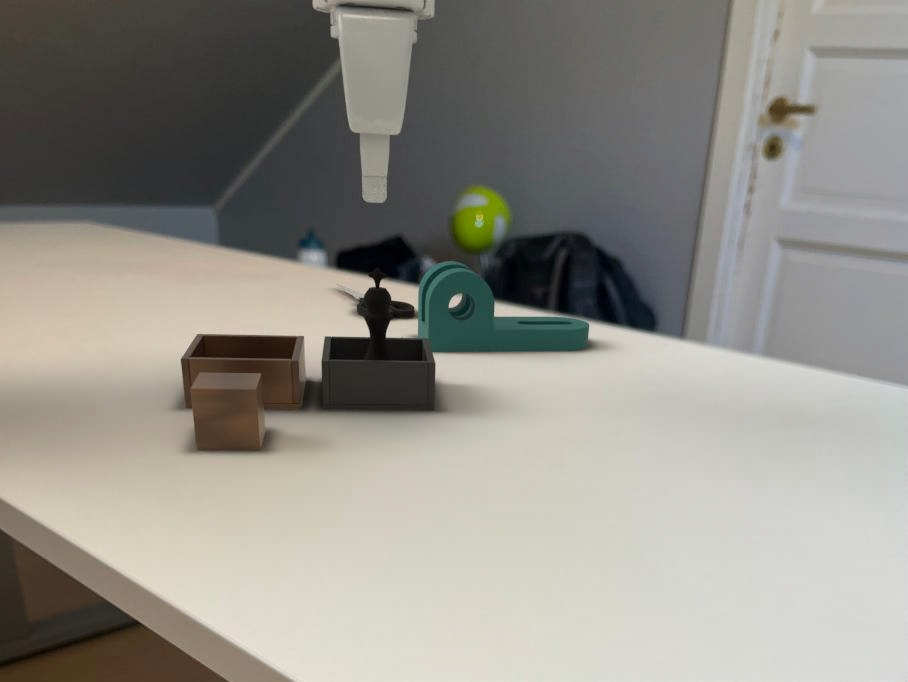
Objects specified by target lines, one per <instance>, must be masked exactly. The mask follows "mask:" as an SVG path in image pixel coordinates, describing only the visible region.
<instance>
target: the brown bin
mask: <svg viewBox="0 0 908 682" xmlns="http://www.w3.org/2000/svg"><path fill="white" fill-rule="evenodd" d="M305 348H306V347H305V336H304V335H281V334H279V335H278V334H277V335H276V334H271V335H270V334H231V333H230V334H229V333H228V334H226V333H225V334H224V333H220V334H219V333H197V334H196V335H195V337H194V338H193V340H192V341H191V343H190V344H189V346H188V347H187V349H186V350H185V352H184V354H183V355H182V356H181V358H180V367H181V377H182V386H183V394H184V395H183V396H184V402H185V403H184V404H185V405H184V406H185V409H192V400H191V390H190V389H191V387H192V385H193V383H194V382H195V380H196V378H197V376H198V374H199V373H200V372H201V373H261V374H262V387H263V402H264V410H301V409H302V405H303V401H304V393H305V388H306V383H307V376H306V375H307V374H306V370H307V369H306V349H305Z"/></svg>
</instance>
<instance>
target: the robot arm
mask: <svg viewBox="0 0 908 682" xmlns="http://www.w3.org/2000/svg"><path fill="white" fill-rule="evenodd" d="M312 8H313V10H315V11H318V12H322V13H327V14H329V15H330V16H329V17H330V25H331V26H330V37H331V38H332V39H336V40H338V47H339V57H340V65H341V66H340V67H341V75H342V84H343V85H342V86H343V94H344V99H345V100H344V101H345V109H346V115H347V122H348V126H349V130H350V131H351V132H352V133H354V134H359V153H360V167H361V197H362V199H363V201H365V202H366V203H373V204H382V203H385V202H386V201H387V198H388V171H389V161H390V151H391V150H390V149H391V148H390V145H391V144H390V141H391V140H390V139H391V137H390V136H397V135H399V134H400V133H401V132H402V129H403V124H404V118H405V112H406V106H407V97H408V90H409V89H408V87H409V80H410V71H411V69H410V68H411V61H412V50H413V45H415V44H417V43H418V33H417V30H418V21H419V20H430V19H433V18H434V17H435V12H436V11H435V9H436V0H312Z"/></svg>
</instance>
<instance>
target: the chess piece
mask: <svg viewBox="0 0 908 682" xmlns="http://www.w3.org/2000/svg"><path fill="white" fill-rule="evenodd" d="M367 275H368V277H369V278H371V279H373V281H374V285H375V286H372V287H371V286H370V287H368V289H367V290H366V291H365V293H364V294H363V295H364V303H365V305H366V308H367V311H366V313H364V316H363V318H364V319H363V320H364V321H365V323H366V327H367V328H368V332H369V337H370V344H369V349H368V352H367V354H366V356H365V359H364V360H386V361H392V359H391V357H390V355H389V352H388V349H387V345H386V337H387V332H388V331H387V330H388V328H389V326H390V323H391V320H392V319H393V318H392V315H391V314H390V313H389V306H390V304H391V300H392V295H391V293H390V292H389V291H388V289H387V287H381V282H382V280H383V279H386V278H388V275H387V273H384V272H382V271H381V269H380V267H375V269H374V270H373V271H372V272H371V271H370V272H369V273H368V274H367Z"/></svg>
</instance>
